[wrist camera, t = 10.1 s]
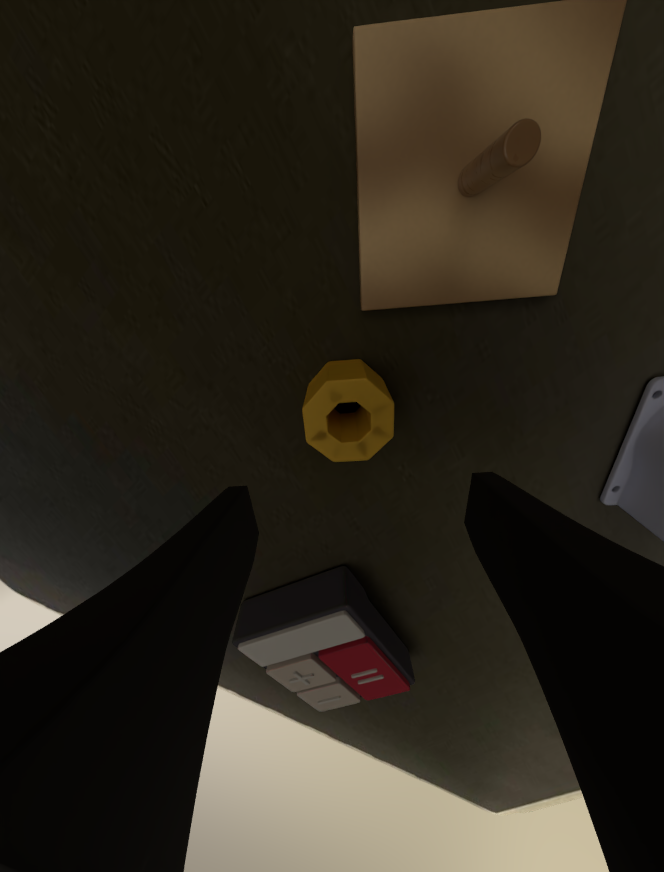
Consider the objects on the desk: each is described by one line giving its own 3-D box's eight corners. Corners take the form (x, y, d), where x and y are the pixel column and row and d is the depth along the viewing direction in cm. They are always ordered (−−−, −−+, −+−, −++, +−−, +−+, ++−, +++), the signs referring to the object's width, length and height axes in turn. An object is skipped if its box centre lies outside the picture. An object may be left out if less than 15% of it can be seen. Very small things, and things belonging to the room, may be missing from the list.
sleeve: (383, 427, 20) (393, 459, 16) (313, 431, 20) (309, 464, 17) (383, 356, 18) (395, 376, 14) (305, 362, 18) (298, 382, 14)
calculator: (317, 717, 31) (226, 653, 24) (318, 668, 35) (239, 601, 28) (419, 693, 29) (348, 614, 22) (408, 644, 32) (345, 563, 26)
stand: (547, 294, 16) (627, 299, 12) (360, 309, 17) (369, 320, 12) (611, 8, 12) (782, -160, 7) (352, 40, 12) (362, -101, 8)
